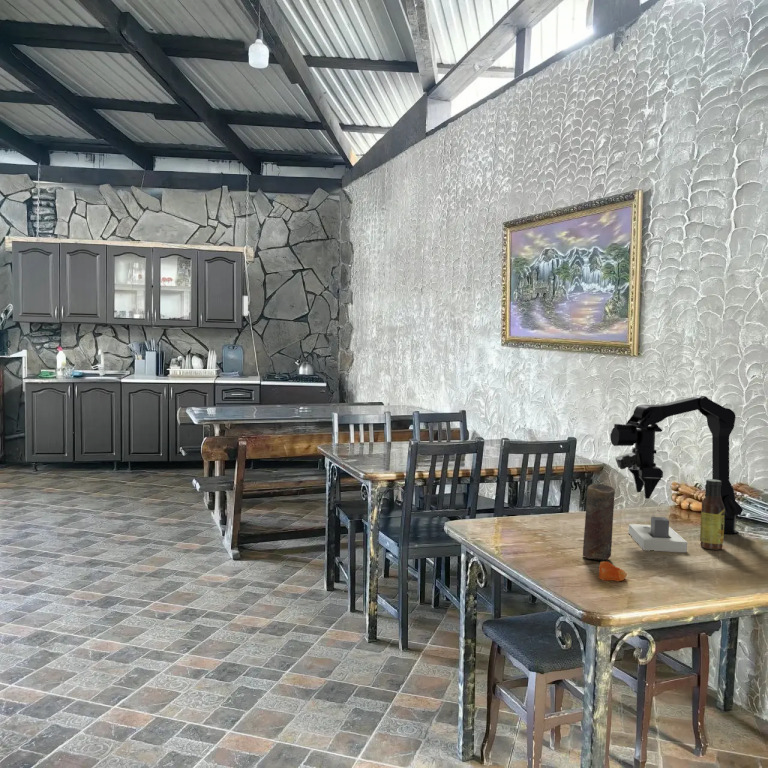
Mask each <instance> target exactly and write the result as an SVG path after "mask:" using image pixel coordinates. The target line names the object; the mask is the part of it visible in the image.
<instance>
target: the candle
mask: <svg viewBox="0 0 768 768" xmlns="http://www.w3.org/2000/svg"><path fill="white" fill-rule="evenodd" d="M586 489H587V490H586V504H585V516H584V517H585V519H584V522H585V523H584V530H583V531H584V533H583V544H582V556H583V557H585V558H586V559H590V560H595V561H600V562H604V561H605V560H608V559H609V558H611V556H612V544H613V525H614V524H613V523H614V521H613V520H614V512H615V511H614V508H615V507H614V506H615V493H616V490H615V488H614V487H613V486H611V485H608V484H601V483H597V484H596V483H591V484H590V485H588V486H587V488H586Z"/></svg>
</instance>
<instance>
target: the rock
mask: <svg viewBox="0 0 768 768" xmlns="http://www.w3.org/2000/svg"><path fill="white" fill-rule="evenodd" d="M598 570H599V572H598V573H599V575H598V578H599V579H600V580H602V581H613V582H622V581H624V580H625V578H626V577H627V575H628V573H627V572H626V571H625V570H623V569H621V568H620V567H618V566H615V565H613V564H612V563H611V562H609V561H605V560H604V561H600V562H599V566H598Z"/></svg>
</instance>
